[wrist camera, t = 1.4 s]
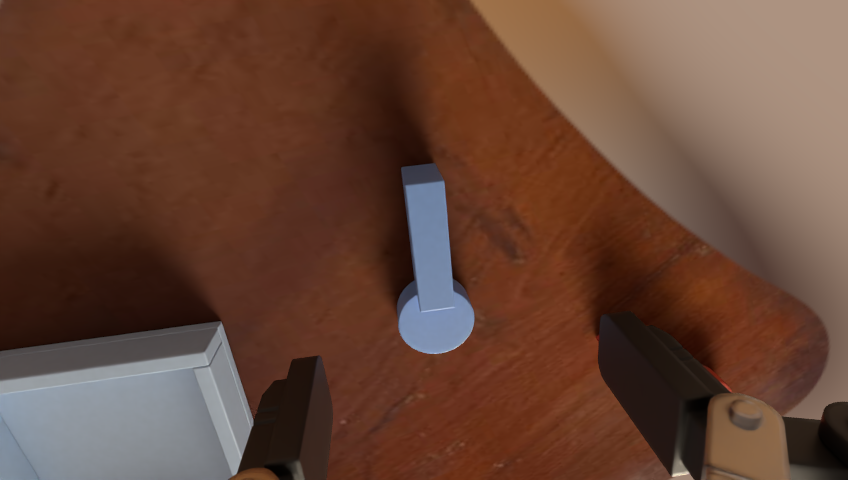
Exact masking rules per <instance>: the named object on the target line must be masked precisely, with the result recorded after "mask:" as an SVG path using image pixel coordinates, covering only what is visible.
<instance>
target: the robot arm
mask: <svg viewBox="0 0 848 480" xmlns="http://www.w3.org/2000/svg"><path fill="white" fill-rule="evenodd" d="M598 363H599V369H600V372H601V375H602V377H603V379H604V381H605V382H606V384H607V385H608V387H609V388H610V390H611V391H612V392H613V394H614V395H615V397H616V398H617V400H618V401H619V402H620V404H621V405H622V407H623V408H624V410H625V411H626V412H627V414H628V415H629V417H630V418H631V420H632V421H633V422H634V424H635V425H636V427H637V428H638V430H639V431H640V432H641V434H642V435H643V437H644V438H645V439H646V441H647V442H648V444H649V445H650V447H651V448H652V449H653V451H654V452H655V454H656V455H657V457H658V458H659V459H660V461H661V462H662V464H663V465H664V467H665V468H666V469H667V471H668V472H669V474H670V475H671V477H673V476H679V475H685V474H691V476H692V477H693V479H694V480H848V402H836V403H832V404H829V405H828V406H826V407H825V409H824V412H823V415H822V419H821V420H814V419H802V418H791V417H782V416H780V415H779V413H778V412H777V411H776V410H775V409H773V408H772V407H771V406H769V405H768V404H766V403H764V402H763V401H761V400H759V399H756V398H754V397H751V396H748V395H744V394H739V393H731V392H730V391H729V390H728V389H727V388H726V387H725V386H724V385H723V384H722V383H721V382H720V381H719V380H717V379H716V378H715V377H714V376H713V375H712V374H711V373H710V372H709V371H708V370H707V369H706V368H705V367H704V366H703V365H702V364H701V363H700V362H699V361H698V360H696V359H694V358H693V356H692V355H691V354H690V353H689V352H688V351H687V350H686V349H683V346H682V345H681V344H680V343H679V342H678V341H676V340H675V339H674V338H673V337H672V336H671V335H670V334H668V333H666V332H664V331H663V330H661V329H659V328H657V327H655V326H653V325H650V326H646V325H645V324H644V323H643V322H642V321H641V320H640V319H639V318H638V317H637V316H636V315H635V314H634V313H633V312H631V311H622V312H616V313H609V314H603V315H602V316H601V319H600V330H599V350H598ZM257 411H258V413H256V416H255V419H254V422H253V426H252V428H251V431H250V434H249V437H248V441H247V444H246V447H245V450H244V453H243V456H242V459H241V462H240V465H239V468H238V471H237V474H236V475H234V476H232V477H231V478H229V479H228V480H326V476H327V467H328V458H329V450H330V441H331V432H332V423H333V409H332V401H331V396H330V392H329V387H328V383H327V379H326V375H325V370H324V366H323V362H322V359H321V357H320V356H312V357H305V358H299V359H293V360H292V362H291V365H290V369H289V372H288V376H287V379H283V380H277V381H274V382H273V383H272V384H271V385H270V387H269V388H268V389H267V390H266V391H265V393H264V394H263V395H262V398H261V401H260V404H259V407H258V410H257Z"/></svg>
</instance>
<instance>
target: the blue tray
mask: <svg viewBox="0 0 848 480" xmlns="http://www.w3.org/2000/svg"><path fill="white" fill-rule="evenodd" d="M253 422H254V421H253V418H252V414H251V411H250V408H249V405H248V402H247V399H246V396H245V393H244V390H243V387H242V384H241V380H240V377H239V374H238V371H237V368H236V365H235V362H234V359H233V356H232V353H231V349H230V346H229V343H228V340H227V337H226V334H225V331H224V328H223V325H222V322H221V321H218V322H210V323H203V324H196V325H188V326H181V327H174V328H166V329H159V330H152V331H144V332H137V333H130V334H122V335H115V336H108V337H100V338H93V339H86V340H78V341H71V342H64V343H56V344H49V345H42V346H35V347H27V348H20V349H13V350H5V351H0V480H228V479H229V478H231V477H232V476H234V475H236V474H237V471H238V468H239V465H240V462H241V459H242V456H243V453H244V450H245V447H246V444H247V441H248V437H249V434H250V431H251V428H252V426H253Z"/></svg>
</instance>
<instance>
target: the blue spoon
mask: <svg viewBox="0 0 848 480" xmlns="http://www.w3.org/2000/svg"><path fill="white" fill-rule="evenodd" d="M401 172H402V181H403V189H404V197H405V205H406V214H407V222H408V230H409V238H410V246H411V255H412V263H413V271H414V279H415V280H414V281H413V282H411V283H410V284H409V285H408V286H407V287H406V288H405V289H404V290H403V291H402V293H401V295H400V297H399V299H398V303H397V315H398V327H399V331H400V334H401V336H402V338H403V339H404V341H405V342H406V343H407V344H408V345H409V346H411V347H412V348H414V349H416V350H418V351H420V352H424V353H430V354H437V353H444V352H447V351H450V350H452V349H454V348H456V347H458V346H459V345H461V344H462V343H463V342H464V341H465V340H466V339H467V338H468V336H469V335H470V333H471V331H472V329H473V325H474V311H473V308H472V305H471V303H470V300H469V297H468V295H467V293H466V291H465V289H464V288H463V286H462V285H461V284H460V283H458V282H457V281H456V280H454V279H452V267H451V255H450V243H449V232H448V220H447V208H446V196H445V184H444V180H443V178H442V176H441V174H440V172H439V170H438V168H437V166H436V164H435V163H431V164H423V165H415V166H407V167H402V168H401Z"/></svg>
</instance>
